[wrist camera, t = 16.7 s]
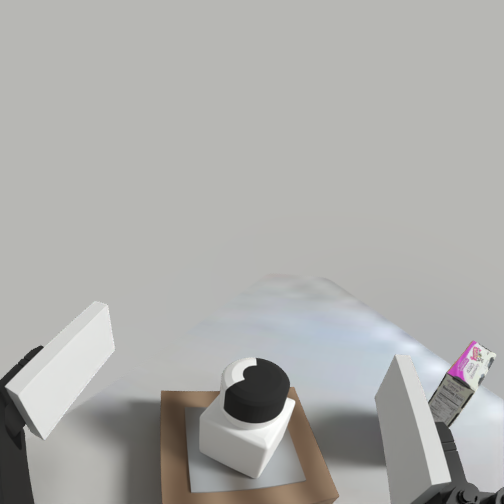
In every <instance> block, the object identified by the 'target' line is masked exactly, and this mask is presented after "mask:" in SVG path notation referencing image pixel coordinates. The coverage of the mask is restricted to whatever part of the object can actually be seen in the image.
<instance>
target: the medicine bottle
mask: <svg viewBox="0 0 504 504" xmlns="http://www.w3.org/2000/svg"><path fill="white" fill-rule="evenodd" d="M289 389H290V381H289V378H288V376H287V375H286V373H285V372H284V371H283V370H282V369H281V368H280V367H279V366H278V365H276V364H274V363H272V362H270V361H268V360H264V359H260V358H244V359H240V360H237V361H235V362H233V363H231V364H230V365H228V366H227V367H226V368H225V370H224V371H223V373H222V377H221V387H220V394H219V395H218V396H217V398H216V399H215V400H214V401H213V402H212V403H211V404H210V405H209V407H208V408H207V409H206V410H205V411H204V412H203V413H202V414H201V416H200V431H199V450H200V452H201V453H203V454H205V455H207V456H209V457H211V458H212V459H214V460H216V461H218V462H220V463H222V464H224V465H226V466H228V467H230V468H232V469H234V470H237V471H239V472H241V473H243V474H245V475H247V476H250V477H252V478H254V479H257V478H258V477H259V476H260V475H261V473H262V471H263V470H264V468H265V467H266V465H267V463H268V462H269V460H270V458H271V457H272V455H273V453H274V451H275V450H276V448H277V446H278V445H279V443H280V441H281V439H282V438H283V435H284V433H285V430H286V427H287V425H288V422H289V419H290V417H291V414H292V411H293V409H294V406H295V401H294V400H292V399H290V398H287V395H288V392H289Z"/></svg>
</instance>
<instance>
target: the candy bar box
mask: <svg viewBox="0 0 504 504" xmlns="http://www.w3.org/2000/svg"><path fill="white" fill-rule="evenodd" d="M495 357H496V354H494V353H493V352H491V351H489V350H488V349H487V348H485V347H483V346H481V345H480V344H479V343H477V342H475V341H472V342H471V343H470V345H469V346H468V347H467V349H466V350H465V351H464V352H463V354H462V355H461V356H460V357H459V359H458V360H457V361H456V362H455V363H454V364H453V365H452V367H451V368H450V369H449V370H448V371H447V372H446V374H445V376H444V378H443V379H442V381H441V383H440V385H439V386H438V388H437V389H436V391H435V392H434V394H433V396H432V397H431V399H430V400H429V402H428V405H429V408H430V411H431V414H432V417H433V420H434V422H444V423H445V424H446V425H447V427H448V428H450V426H451V425H452V424H453V423H454V421H455V420H456V419H457V417H458V416H459V415H460V413H461V412H462V411H463V409H464V408H465V406H466V405H467V404H468V402H469V401H470V399H471V398H472V396H473V395H474V393H475V392H476V390H477V389H478V387H479V385H480V384H481V382H482V381H483V379H484V377H485V375H486V374H487V372H488V370H489V368H490V366H491V365H492V363H493V361H494V359H495Z"/></svg>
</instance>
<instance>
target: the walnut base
mask: <svg viewBox="0 0 504 504" xmlns="http://www.w3.org/2000/svg"><path fill="white" fill-rule="evenodd" d="M219 394H220V391H161V424H160V451H161V489H162V504H332V503H333V502H334V501H335V500H336V499H337V498H338V497H339V494H338V492H337V490H336V487H335V485H334V482H333V480H332V478H331V475H330V473H329V471H328V468H327V466H326V463H325V461H324V459H323V456H322V454H321V451H320V449H319V447H318V444H317V442H316V439H315V437H314V434H313V432H312V430H311V427H310V425H309V422H308V420H307V418H306V415H305V413H304V410H303V408H302V405H301V403H300V400H299V398H298V396H297V393H296V391H295V388H294V387H290V389H289V392H288V395H287V398H290V399H292V400H294V401H295V406H294V409H293V411H292V414H291V417H290V419H289V422H288V425H287V427H286V430H285V433H284V435H283V438H282V439H281V441H280V443H279V445H278V446H277V448H276V450H275V451H274V453H273V455H272V457H271V458H270V460H269V462H268V463H267V465H266V467H265V468H264V470H263V471H262V473H261V475H260V476H259V477H258V478H257V479H254V478H252V477H250V476H247V475H245V474H243V473H241V472H239V471H237V470H234V469H232V468H230V467H228V466H226V465H224V464H222V463H220V462H218V461H216V460H214V459H212V458H211V457H209V456H207V455H205V454H203V453H201V452H200V450H199V431H200V416H201V414H202V413H203V412H204V411H205V410H206V409H207V408H208V407H209V405H210V404H211V403H212V402H213V401H214V400H215V399H216V398H217V396H218V395H219Z"/></svg>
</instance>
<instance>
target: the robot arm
mask: <svg viewBox="0 0 504 504" xmlns="http://www.w3.org/2000/svg"><path fill="white" fill-rule="evenodd" d="M114 350H115V346H114V340H113V335H112V329H111V322H110V316H109V309H108V304H105V303H101V302H98V301H94V302H93V303H92V304H91V305H90V306H89V307H87V308H86V309H85V310H84V311H83V312H82V313H81V314H80V315H79V316H77V317H76V318H75V319H74V320H73V321H72V322H71V323H70V324H69V325H68V326H67V327H65V328H64V329H63V330H62V331H61V332H60V333H59V334H58V335H57V336H56V337H55V338H54V339H52V340H51V341H50V342H49V343H48V344H47V345H46V346H45V347H43V346H39V347H37V348H35V349H33V350H31V351H30V352H29V353H28V354H27V355H26V356H25V357H24V359H21V360H20V361H19V362H18V364H16V365H15V366H14V367H13V368H12V369H11V370H10V371H9V372H8V373H7V374H6V375H5V376H4V377H3V378H2V379H1V380H0V504H34V499H33V494H32V488H31V483H30V476H29V469H28V462H27V453H26V442H25V433H24V429H23V427H24V426H25V424H26V425H27V426H28V428H29V429H30V431H31V432H32V433H33V434H35V435H36V436H38V437H39V438H41V439H43V440H44V441H45V439H46V438H47V436H48V435H49V434H50V432H51V431H52V430H53V428H54V427H55V426H56V424H57V423H58V422H59V420H60V419H61V418H62V416H63V415H64V414H65V412H66V411H67V410H68V408H69V407H70V406H71V405H72V403H73V402H74V401H75V399H76V398H77V397H78V395H79V394H80V393H81V392H82V390H83V389H84V388H85V387H86V385H87V384H88V383H89V381H90V380H91V379H92V377H93V376H94V375H95V374H96V372H97V371H98V370H99V369H100V368H101V366H102V365H103V364H104V363H105V361H106V360H107V359H108V358H109V356H110V355H111V354H112V353H113V352H114ZM375 402H376V407H377V412H378V418H379V423H380V429H381V435H382V441H383V447H384V453H385V460H386V467H387V475H388V482H389V491H390V500H391V504H504V487H503V488H501V489H500V490H499V491H498V492H496V493H488V492H479V490H478V488H477V487H476V486H475V485H473V484H471V483H468V482H467V480H466V478H465V474H464V471H463V467H462V464H461V461H460V458H459V454H458V451H456V449H457V448H456V445H455V443H454V439H453V436H452V433H451V430H450V429H449V428H448V427H447V425H446V424H445V423H444V422H434V420H433V417H432V414H431V411H430V408H429V405H428V402H427V399H426V396H425V394H424V391H423V388H422V385H421V383H420V380H419V377H418V375H417V372H416V370H415V367H414V364H413V362H412V359H411V357H410V355H395V356H394V358H393V360H392V362H391V365H390V367H389V369H388V371H387V373H386V375H385V377H384V379H383V382H382V384H381V386H380V388H379V390H378V392H377V394H376V395H375Z"/></svg>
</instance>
